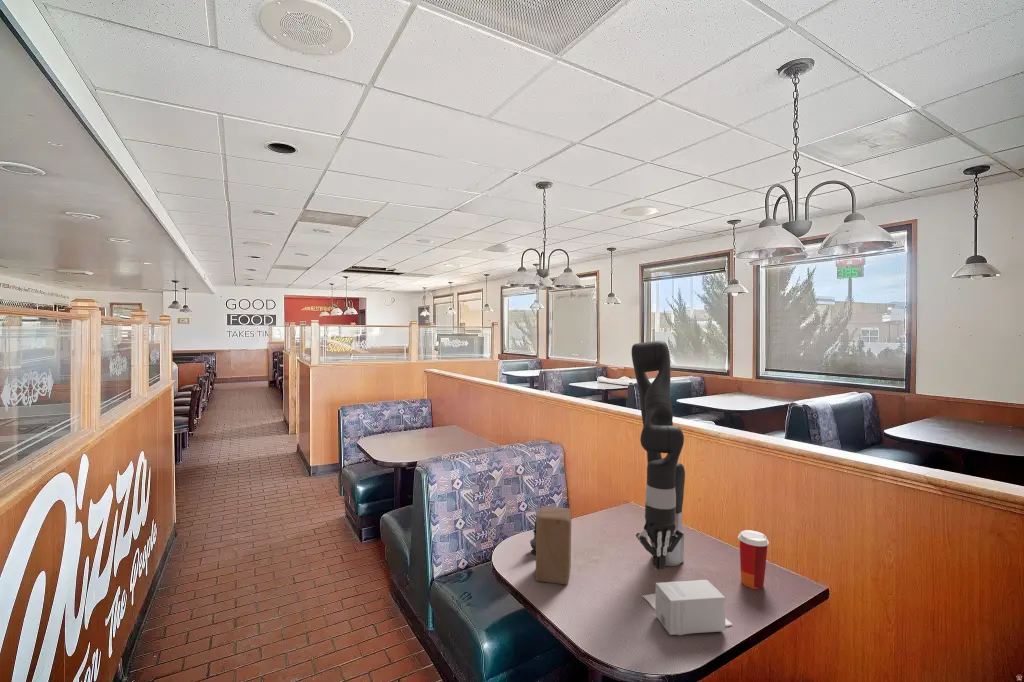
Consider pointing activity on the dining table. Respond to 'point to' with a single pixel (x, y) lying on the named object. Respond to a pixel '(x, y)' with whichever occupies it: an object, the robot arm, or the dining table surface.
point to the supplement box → (690, 607)
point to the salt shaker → (534, 542)
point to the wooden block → (553, 545)
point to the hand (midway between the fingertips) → (658, 568)
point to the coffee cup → (753, 558)
